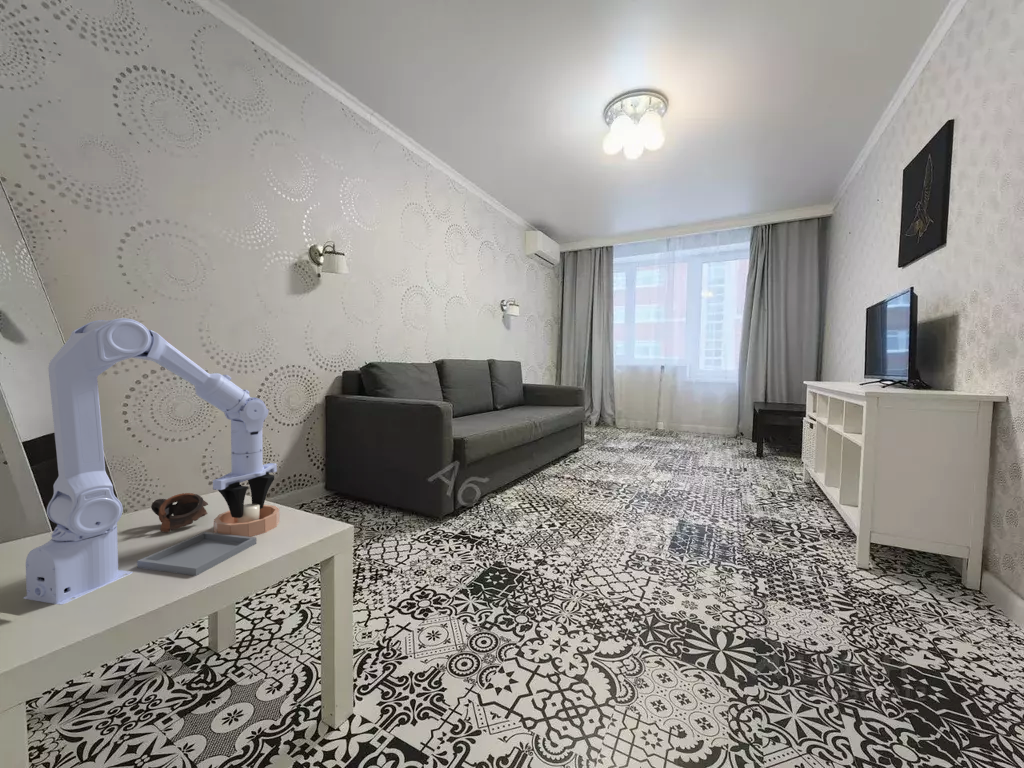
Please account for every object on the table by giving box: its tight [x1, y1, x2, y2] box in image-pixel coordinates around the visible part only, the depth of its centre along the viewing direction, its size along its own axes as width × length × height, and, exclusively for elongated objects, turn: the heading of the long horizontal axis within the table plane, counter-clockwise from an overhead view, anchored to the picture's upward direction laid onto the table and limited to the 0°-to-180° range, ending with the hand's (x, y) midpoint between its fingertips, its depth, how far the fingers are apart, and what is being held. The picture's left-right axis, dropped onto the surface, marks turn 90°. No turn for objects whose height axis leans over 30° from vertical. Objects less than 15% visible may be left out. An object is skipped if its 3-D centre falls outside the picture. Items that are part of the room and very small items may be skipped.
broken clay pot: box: [150, 492, 209, 533], centre depth 87 cm, size 12×10×8 cm
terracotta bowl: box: [213, 504, 281, 537], centre depth 86 cm, size 12×12×4 cm
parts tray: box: [136, 531, 257, 577], centre depth 74 cm, size 12×12×2 cm
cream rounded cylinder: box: [237, 503, 260, 523], centre depth 86 cm, size 4×4×4 cm
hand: (247, 512), depth 86 cm, fingers open, 5 cm apart
